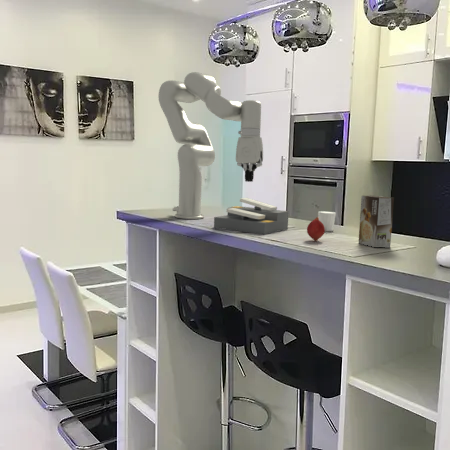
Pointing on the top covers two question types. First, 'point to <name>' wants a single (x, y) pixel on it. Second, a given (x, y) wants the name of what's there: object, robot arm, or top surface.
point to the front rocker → (245, 213)
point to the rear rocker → (258, 204)
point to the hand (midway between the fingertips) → (249, 181)
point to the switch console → (254, 221)
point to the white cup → (327, 219)
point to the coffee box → (376, 221)
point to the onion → (315, 229)
